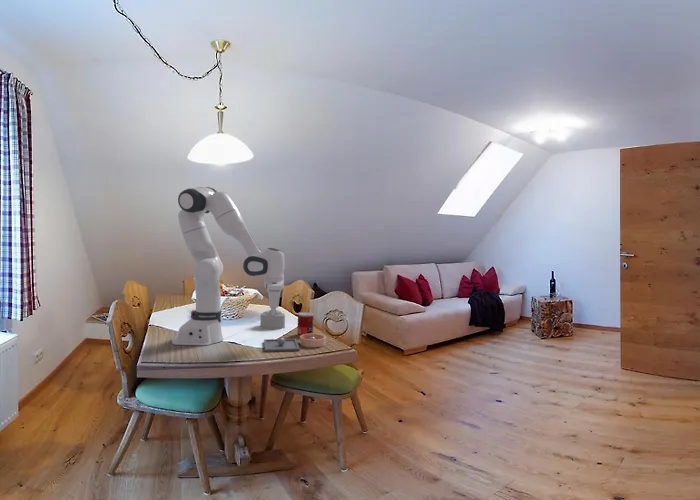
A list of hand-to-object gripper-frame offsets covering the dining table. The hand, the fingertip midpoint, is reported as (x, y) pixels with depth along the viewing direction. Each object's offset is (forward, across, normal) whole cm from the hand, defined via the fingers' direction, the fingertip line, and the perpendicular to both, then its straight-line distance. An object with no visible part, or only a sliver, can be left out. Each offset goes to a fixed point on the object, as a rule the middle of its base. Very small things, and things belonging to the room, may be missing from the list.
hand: (273, 314), depth 189 cm
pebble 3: (+13, -1, +19) cm, 22 cm away
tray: (+15, 0, +4) cm, 15 cm away
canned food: (+15, -20, +17) cm, 30 cm away
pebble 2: (+13, 0, +4) cm, 13 cm away
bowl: (+15, -3, +19) cm, 24 cm away
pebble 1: (-1, 0, 0) cm, 1 cm away
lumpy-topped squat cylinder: (+15, -38, +1) cm, 41 cm away
